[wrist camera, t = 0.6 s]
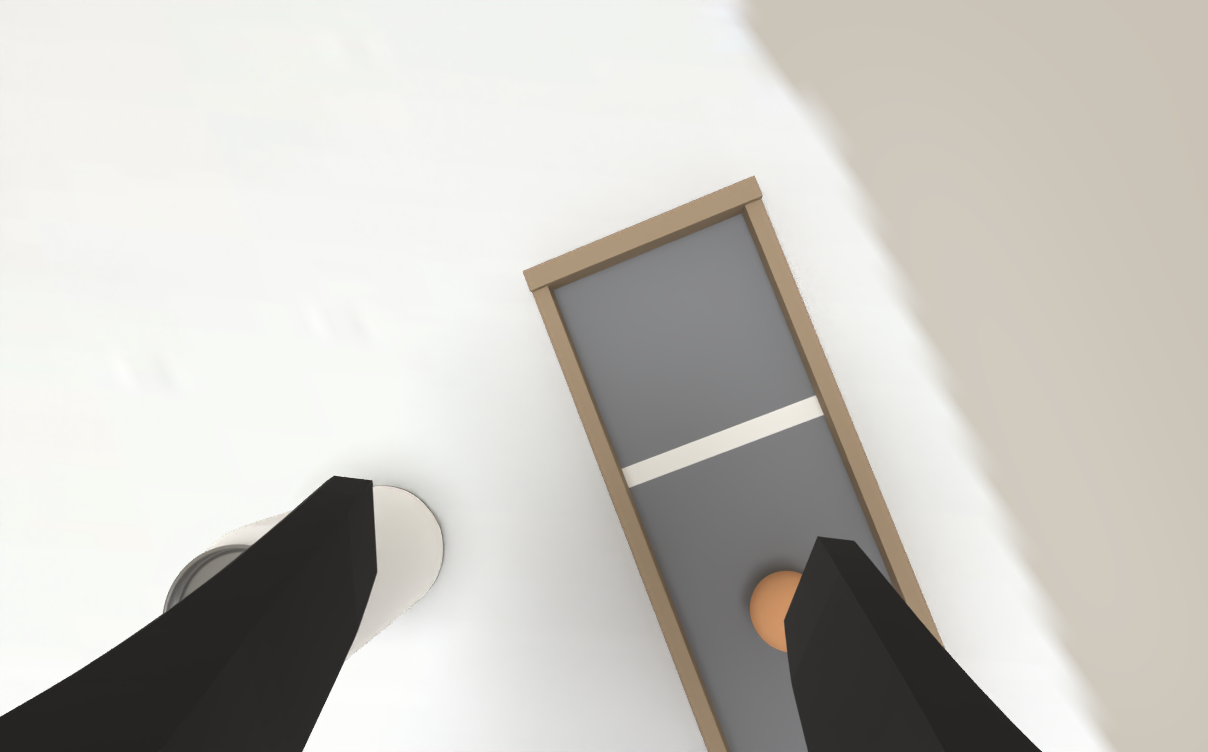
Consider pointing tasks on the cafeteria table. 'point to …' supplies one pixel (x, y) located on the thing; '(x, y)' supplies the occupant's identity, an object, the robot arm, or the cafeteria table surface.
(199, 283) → the cafeteria table surface
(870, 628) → the robot arm
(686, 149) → the cafeteria table surface
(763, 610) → the ball
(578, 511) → the cafeteria table surface
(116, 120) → the cafeteria table surface
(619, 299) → the lane
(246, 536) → the can
